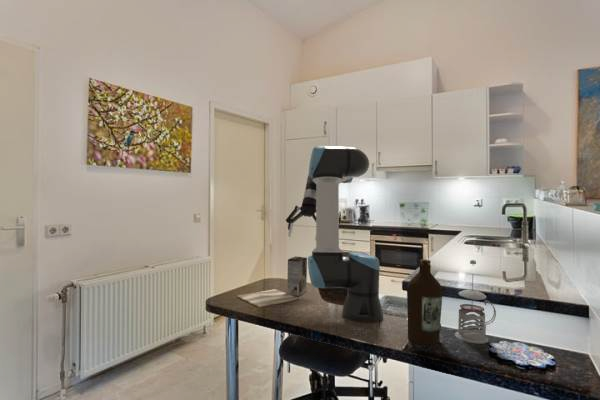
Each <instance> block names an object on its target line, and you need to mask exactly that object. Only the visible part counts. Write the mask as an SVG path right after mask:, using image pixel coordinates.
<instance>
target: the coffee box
mask: <svg viewBox="0 0 600 400" xmlns="http://www.w3.org/2000/svg"><path fill="white" fill-rule="evenodd" d="M307 269H308V257H305V256H304V257H303V256H293V257H290V258H288V259H287V280H286V281H287V282H286V283H287V284H286V293H287V294H290V295H292V296H295V297H300V296H301V295H303V294H304V293H306V292H307V279H308V277H307V276H308V274H307V273H308V271H307Z"/></svg>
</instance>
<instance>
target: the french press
mask: <svg viewBox="0 0 600 400" xmlns="http://www.w3.org/2000/svg"><path fill="white" fill-rule="evenodd" d="M469 264H471V265H477V261H476V260H474V259H473V260H471V259H470V261H469ZM471 278H472V280H471V281H472V282H471V283H472V284H471V285H472V286H471V289H464V290H461V291H459V292H458V295H459V296H460V297H462V298H464V299H469V300H471V303H464V304H463V303H462V304H460V305H459V307H460V309H458V326H457V327H458V328H457V329H458V330H457V331H456V332H455V333H454V336H455V337H456V338H457V339H459V340H460V341H464V342H465V343H466V342H467V343H471V344H486V343H489V339H488V337H487V336H486V331H487V325H490V324H492V323H493V322H494V321H495V319H496V315H497V311H496V308H495V307H494V305H493V303H492V302H490V300H488V299H487V295H485V294H484V293H483V292H481V291H478V290H476V289H474V275H472V277H471ZM474 300H476V301H477V300H478V301H480V300H484V306H487V304H489V305H491V306H492V309H493V316H492V318H490V320H488V321H486V314H485V312H484V311H485V307H483V306H480V305H476V304H473V301H474ZM474 313H475V314H474Z"/></svg>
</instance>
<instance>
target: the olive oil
mask: <svg viewBox="0 0 600 400" xmlns="http://www.w3.org/2000/svg"><path fill="white" fill-rule="evenodd" d="M418 266H419V267H418V268H419V270H418V273H416V274H415V275H414V276H413V277H412V278H411V279H410V280H409V281H408V284H407V288H406V303H407V304H406V305H407V306H406V307H407V308H406V309H407V338H408V339H409V340H410V341H412V342H414V343H416V344H419V345H423V346H424V345H425V346H433V345H438V344H439V342H440V338H441V337H440V335H441V332H440V331H441V329H442V324H441V321H442V320H441V319H442V318H441V316H442V307H443V288H442V285H441V283H440V282H439V280H438V279H437V278H436V277H435V276H434V275H433V274H432V272H431V268H432V265H431V259H419V265H418Z"/></svg>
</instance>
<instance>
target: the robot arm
mask: <svg viewBox="0 0 600 400" xmlns="http://www.w3.org/2000/svg"><path fill="white" fill-rule="evenodd" d="M309 160H310V161H309V165H308V167H309V168H308V175H307V178H306V182H305V183H306V184H305V189H304V194H303V199H302V202H301V206H298V205H295V207H294V209H293V210H292V211H291V212H290V214H289V215H288V217H286V219H285V221H286V223H287V224H288V225H287V231H288V233H287V234H288V237H291V236H292V232H293V227H294V223H295V222H296V221H298V220H299V219H300V218H302V217H308V218H311V217H312V219H313V220H314V222H315V223H316V225H315V227H316V228H315V229H316V230H315V232H316V233H315V238H314V239H315V248H314V249H313V250H312V251H311V255H309V256H308V257H307V269H308V276H309V279H310V283H311V285H312V287H314V288H317V289H319V288H320V289H347V295H346V297H345V300H344V304H343V307H342V312H341V313H342V316H343V318H346V319H347V320H351V321H352V322H353V321H354V322H359V323H375V322H379V321H381V320H383V318H384V309H383V308H382V304H381V299H380V292H379V291H380V271H381V269H380V260H379V258H378V257H376V256H374V255H371V254H369V253H368V254H367V253H364V252H363V253H362V252H356V251H354V252H353V251H351V252H348V254H347V256H344V252H343V250H342V249H341V248H340V245H339V244H340V239H339V238H340V235H339V234H340V233H339V231H340V227H339V226H340V224H339V221H340V220H339V219H340V216H339V215H340V210H339V205H340V204H339V203H340V202H339V193H340V191H339V185H340V184H342V183H343V184H350V183H352V182H353V179H354V178H357V177H358V178H359V177H361V176H363V175H365V174H366V173H367V171H368V169H370V168H369V167H370V160H369V158H368V156H367V154H366V153H364V152H363V151H362V150H361V149H359V148H356V147H353V146H333V145H331V146H330V145H323V146H322V145H319V146H318V145H317V146H314V147H313V149H312V150H311V155H310V159H309ZM315 214H316V215H315Z"/></svg>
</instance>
